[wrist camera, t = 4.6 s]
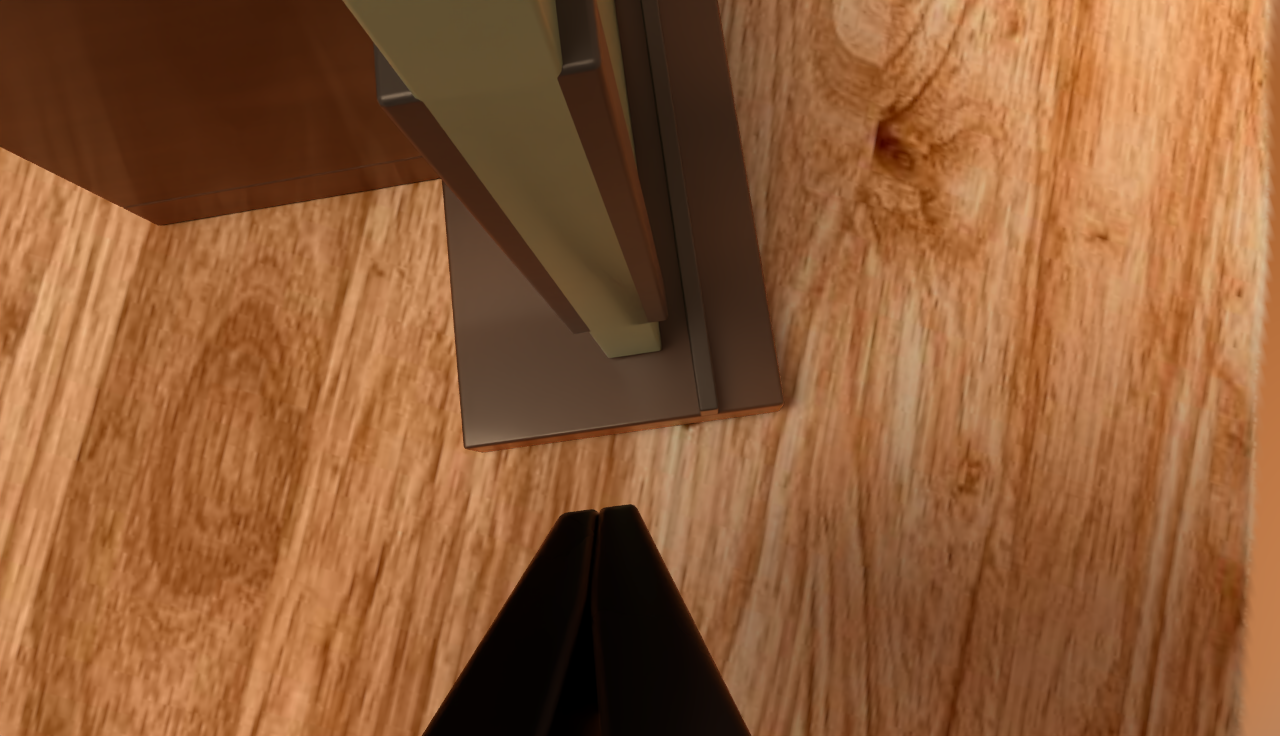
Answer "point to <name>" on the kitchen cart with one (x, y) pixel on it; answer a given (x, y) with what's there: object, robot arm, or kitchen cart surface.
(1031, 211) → the kitchen cart surface
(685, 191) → the cabinet
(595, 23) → the door
